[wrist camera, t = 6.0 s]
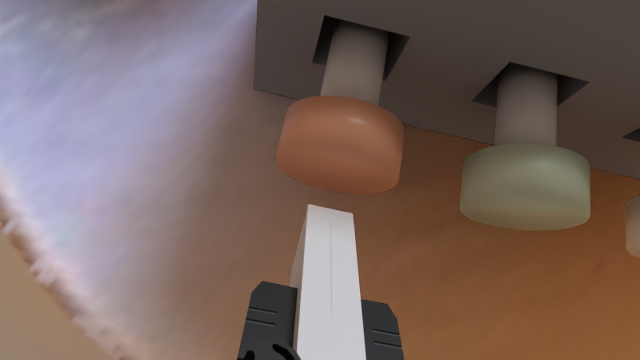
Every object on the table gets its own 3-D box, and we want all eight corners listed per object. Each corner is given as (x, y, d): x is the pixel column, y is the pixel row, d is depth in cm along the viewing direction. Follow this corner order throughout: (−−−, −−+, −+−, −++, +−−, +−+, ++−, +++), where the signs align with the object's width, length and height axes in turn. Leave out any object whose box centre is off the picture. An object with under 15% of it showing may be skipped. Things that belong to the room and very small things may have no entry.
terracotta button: (397, 76, 21) (434, 14, 17) (379, 201, 19) (416, 165, 15) (299, 53, 21) (313, -17, 17) (271, 177, 19) (279, 134, 15)
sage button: (545, 113, 22) (616, 61, 18) (542, 237, 20) (620, 211, 16) (453, 90, 22) (503, 32, 17) (441, 215, 20) (494, 182, 15)
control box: (664, 71, 27) (921, -90, 17) (671, 186, 25) (974, 82, 15) (283, -27, 25) (310, -276, 15) (253, 88, 23) (262, -111, 13)
